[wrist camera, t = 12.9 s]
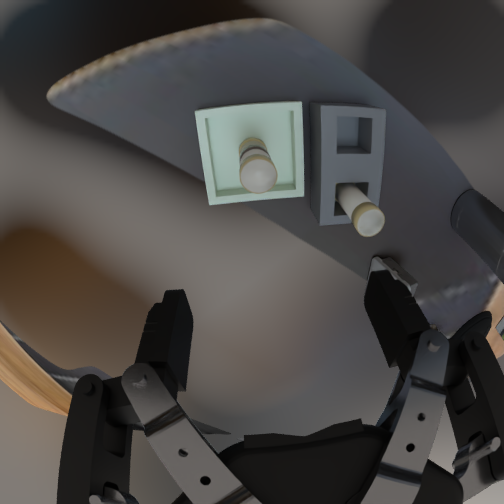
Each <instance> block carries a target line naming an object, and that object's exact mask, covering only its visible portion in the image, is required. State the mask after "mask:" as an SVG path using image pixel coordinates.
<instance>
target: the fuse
mask: <svg viewBox="0 0 504 504" xmlns="http://www.w3.org/2000/svg"><path fill="white" fill-rule="evenodd" d="M335 200H336V201H337V202H338V203H339V204H340V206H341V207H342V208H343V210H344V211H345V212H346V214H347V215H348V217H349V218H350V219H351V221H352V224H353V225H354V227H355V228H356V230H357V231H358V232H359V234H360V235H362V236H365V237H370V236H374V235H376V234H377V233H378V232H380V230H381V229H382V228H383V226H384V223H385V217H384V214H383V213H382V211H381V210H380V209H379V208H378V207H377V206H376V205H375V204H374V203H372V202H371V201H370V200H369V199H368V198H367V197H366V196H365V195H364V194H363V193H362V191H361V190H360V189H359V188H358V187H357V186H356V185H355V183H354V182H353V183H336V187H335Z"/></svg>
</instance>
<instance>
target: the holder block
mask: <svg viewBox="0 0 504 504" xmlns="http://www.w3.org/2000/svg"><path fill="white" fill-rule="evenodd" d="M309 108H310V140H311V210H312V212H313V214H314V216H315V217H316V219H317V221H318V223H319V225H332V224H345V223H352V221H351V219H350V218H349V217H348V215H347V214H346V212H345V211H344V210H343V208H342V207H341V206H340V204H339V203H338V202H337V201H336V200H335V187H336V183H353V182H354V183H355V185H356V186H357V187H358V188H359V189H360V190H361V191H362V193H363V194H364V195H365V196H366V197H367V198H368V199H369V200H370V201H371V202H372V203H374V204H375V205H376V206H377V207H378V205H379V197H380V189H381V180H382V171H383V159H384V146H385V127H386V109H383V108H379V107H375V106H371V105H365V104H351V103H329V102H309Z"/></svg>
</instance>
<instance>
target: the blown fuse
mask: <svg viewBox="0 0 504 504" xmlns="http://www.w3.org/2000/svg"><path fill="white" fill-rule="evenodd" d="M239 160H240V169H239V176H240V182H241V184H242V186H243V187H244V188H245V189H246V190H247V191H249V192H251V193H255V194H261V193H265V192H267V191H269V190H271V189H272V188H273V187H274V185H275V184H276V182H277V177H278V174H277V170H276V168H275V165H274V163H273V161H272V160H271V158H270V155H269V153H268V151H267V148H266V146H265V144H264V142H263V141H262V140H260V139H258V138H255V137H251V138H247V139H245V140H244V141H243V142H242V143H241V144H240V146H239Z"/></svg>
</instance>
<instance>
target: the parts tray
mask: <svg viewBox="0 0 504 504" xmlns="http://www.w3.org/2000/svg"><path fill="white" fill-rule="evenodd" d="M195 117H196V124H197V131H198V138H199V144H200V151H201V157H202V164H203V170H204V176H205V182H206V188H207V194H208V200H209V205H215V204H224V203H234V202H243V201H254V200H264V199H276V198H288V197H302V196H304V150H303V120H302V102H300V101H276V102H259V103H247V104H236V105H227V106H219V107H211V108H205V109H198V110H196V111H195ZM251 137H255V138H258V139H260V140H262V141H263V142H264V144H265V146H266V148H267V151H268V153H269V155H270V158H271V160H272V161H273V163H274V165H275V168H276V170H277V174H278V177H277V182H276V184H275V185H274V187H273V188H272V189H271V190H269V191H267V192H265V193H261V194H255V193H251V192H249V191H247V190H246V189H245V188H244V187H243V186H242V184H241V182H240V176H239V169H240V160H239V146H240V144H241V143H242V142H243V141H244V140H245V139H247V138H251Z"/></svg>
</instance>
